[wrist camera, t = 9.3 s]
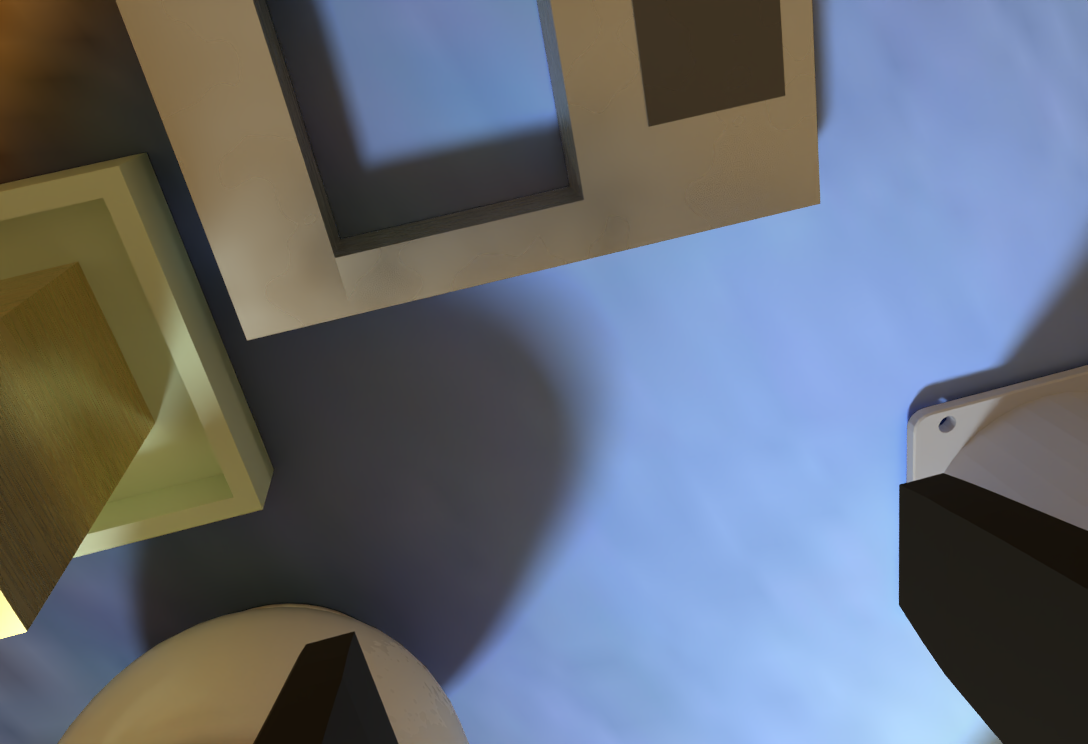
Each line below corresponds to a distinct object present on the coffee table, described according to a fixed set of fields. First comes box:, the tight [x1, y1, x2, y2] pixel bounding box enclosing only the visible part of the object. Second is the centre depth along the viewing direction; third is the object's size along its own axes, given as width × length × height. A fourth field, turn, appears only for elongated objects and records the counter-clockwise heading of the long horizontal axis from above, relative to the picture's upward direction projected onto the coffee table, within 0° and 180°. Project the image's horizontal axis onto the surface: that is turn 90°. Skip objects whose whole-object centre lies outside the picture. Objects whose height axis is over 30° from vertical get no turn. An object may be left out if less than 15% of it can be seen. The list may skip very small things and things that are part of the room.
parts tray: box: [0, 152, 274, 558], centre depth 17 cm, size 8×8×2 cm
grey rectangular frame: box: [116, 0, 820, 340], centre depth 16 cm, size 13×8×2 cm, turn 101°
